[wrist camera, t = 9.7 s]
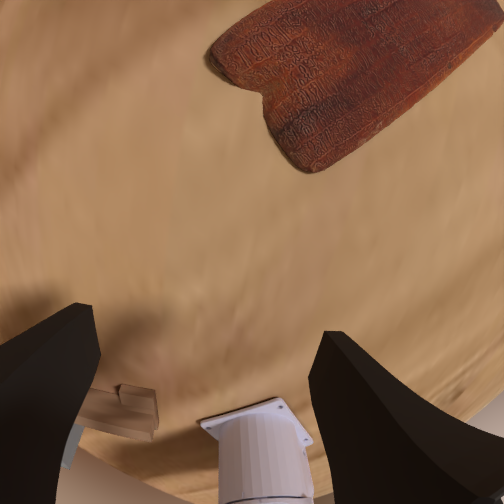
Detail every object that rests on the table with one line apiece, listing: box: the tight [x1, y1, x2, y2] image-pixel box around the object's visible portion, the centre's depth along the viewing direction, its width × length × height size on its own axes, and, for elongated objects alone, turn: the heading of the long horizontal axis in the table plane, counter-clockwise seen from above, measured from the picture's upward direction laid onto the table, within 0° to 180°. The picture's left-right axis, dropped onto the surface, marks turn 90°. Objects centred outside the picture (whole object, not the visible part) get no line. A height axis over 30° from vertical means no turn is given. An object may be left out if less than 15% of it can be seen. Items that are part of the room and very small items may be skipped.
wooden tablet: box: [209, 0, 504, 173], centre depth 12 cm, size 27×10×2 cm, turn 130°
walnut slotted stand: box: [74, 384, 159, 442], centre depth 20 cm, size 18×5×4 cm, turn 82°
